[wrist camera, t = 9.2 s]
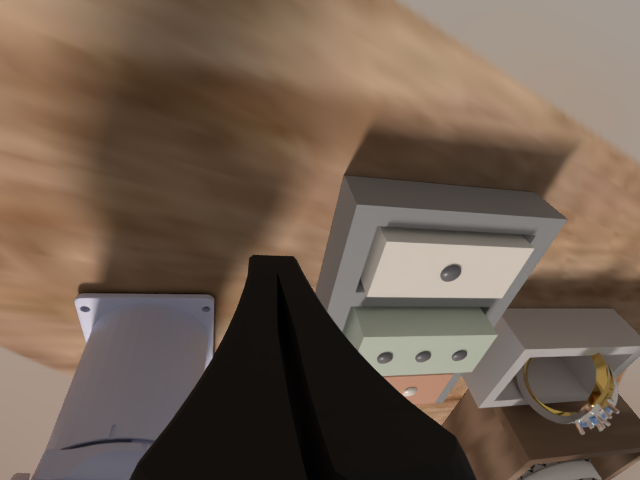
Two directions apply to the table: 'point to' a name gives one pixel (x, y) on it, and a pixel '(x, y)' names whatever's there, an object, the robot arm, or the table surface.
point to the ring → (590, 412)
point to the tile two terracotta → (420, 386)
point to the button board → (425, 213)
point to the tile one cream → (442, 263)
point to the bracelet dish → (551, 354)
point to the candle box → (541, 439)
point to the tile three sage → (420, 338)
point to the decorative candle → (562, 471)
